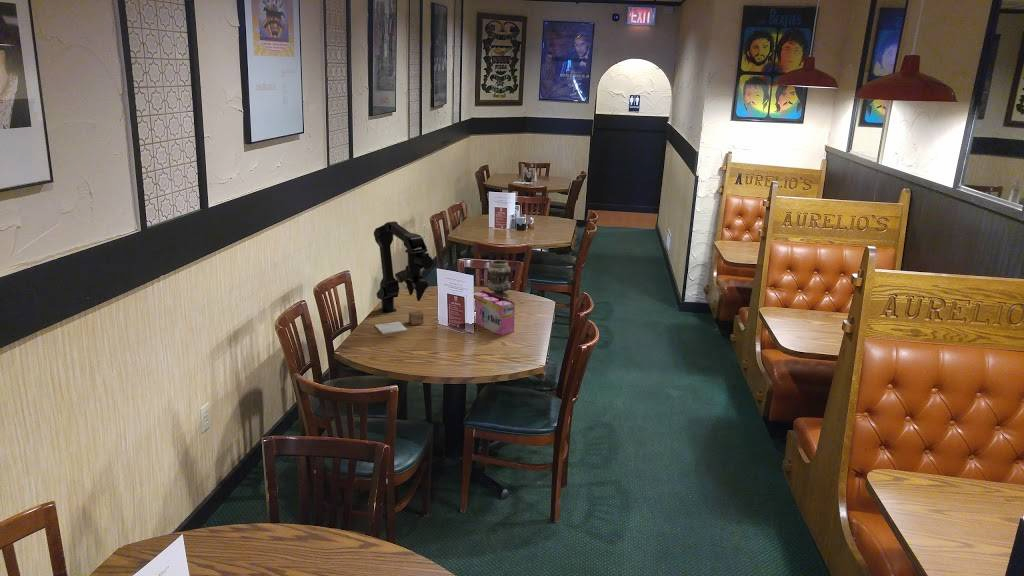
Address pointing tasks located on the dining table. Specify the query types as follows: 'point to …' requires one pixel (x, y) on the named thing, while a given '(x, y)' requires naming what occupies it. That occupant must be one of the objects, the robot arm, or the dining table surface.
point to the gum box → (494, 312)
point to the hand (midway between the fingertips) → (414, 297)
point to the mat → (390, 327)
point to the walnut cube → (415, 317)
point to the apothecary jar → (499, 277)
